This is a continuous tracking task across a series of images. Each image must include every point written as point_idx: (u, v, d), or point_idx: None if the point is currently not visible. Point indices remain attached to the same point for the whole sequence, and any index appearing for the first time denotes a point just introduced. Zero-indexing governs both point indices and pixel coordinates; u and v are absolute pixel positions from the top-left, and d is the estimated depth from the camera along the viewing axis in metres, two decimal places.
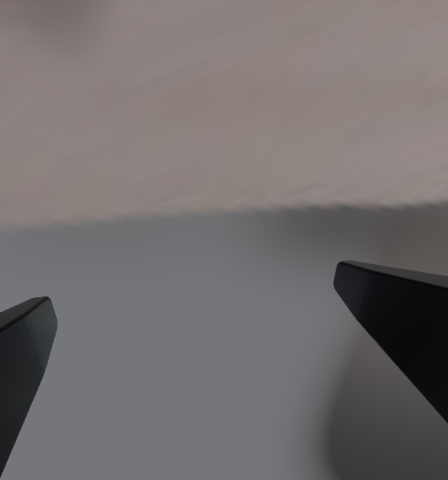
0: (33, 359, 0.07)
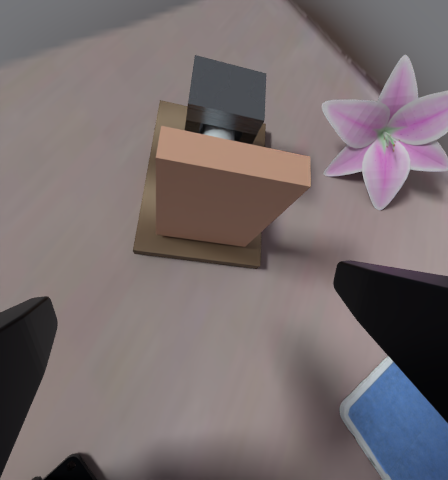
0: (33, 359, 0.07)
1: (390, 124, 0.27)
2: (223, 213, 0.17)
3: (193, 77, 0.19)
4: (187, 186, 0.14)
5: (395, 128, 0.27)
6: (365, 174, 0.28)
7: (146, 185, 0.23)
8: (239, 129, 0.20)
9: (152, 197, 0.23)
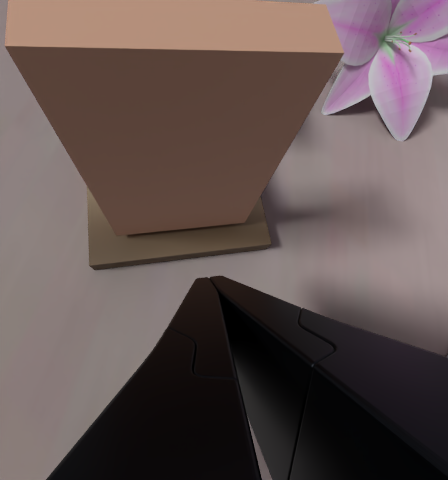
0: None
1: (393, 22, 0.20)
2: (198, 169, 0.10)
3: None
4: (114, 120, 0.07)
5: (401, 26, 0.20)
6: (375, 98, 0.21)
7: None
8: None
9: None
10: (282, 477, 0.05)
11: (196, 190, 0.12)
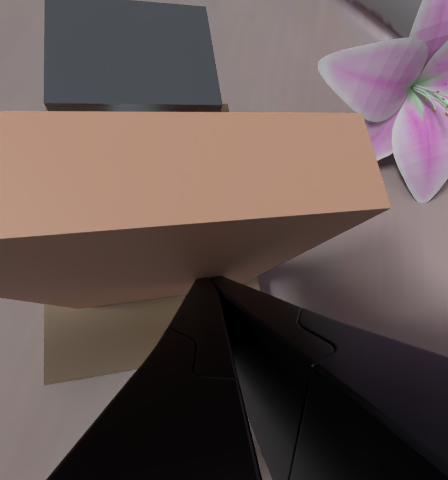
0: None
1: (426, 71, 0.17)
2: (170, 278, 0.08)
3: (48, 41, 0.08)
4: (28, 274, 0.05)
5: (435, 76, 0.17)
6: (399, 158, 0.18)
7: None
8: None
9: None
10: (282, 477, 0.05)
11: (170, 285, 0.09)
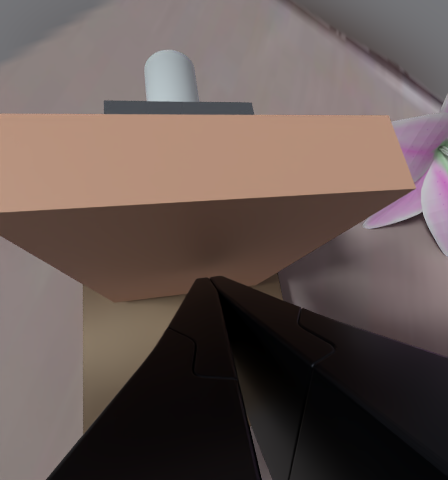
0: None
1: None
2: (212, 265, 0.09)
3: None
4: (116, 247, 0.06)
5: None
6: (428, 217, 0.18)
7: (86, 327, 0.13)
8: None
9: (101, 345, 0.13)
10: (282, 477, 0.05)
11: (208, 275, 0.10)
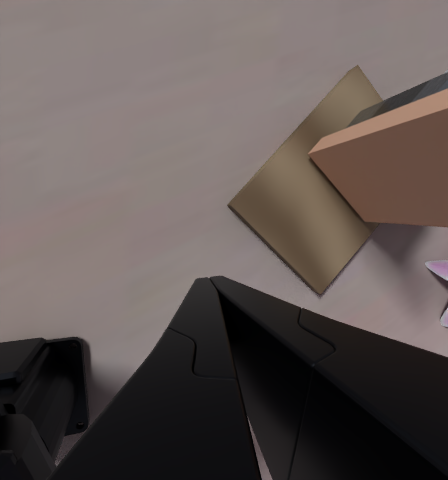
0: None
1: None
2: (411, 188, 0.16)
3: None
4: (436, 145, 0.12)
5: None
6: None
7: (283, 150, 0.20)
8: None
9: (281, 166, 0.20)
10: (282, 476, 0.05)
11: (388, 190, 0.17)
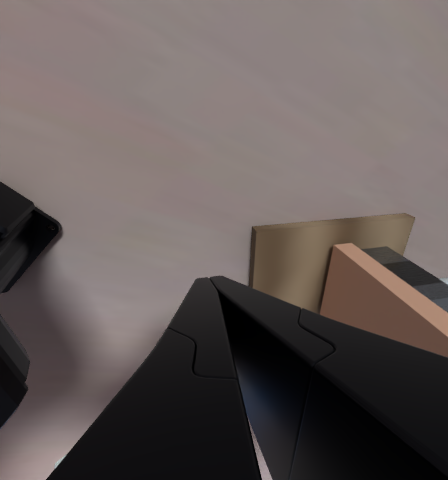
0: None
1: None
2: None
3: (439, 300, 0.18)
4: (413, 337, 0.16)
5: None
6: None
7: (322, 227, 0.22)
8: None
9: (310, 236, 0.23)
10: (282, 477, 0.05)
11: (357, 320, 0.21)
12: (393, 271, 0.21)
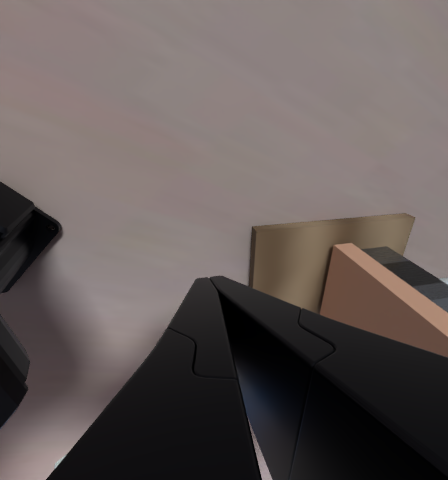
0: None
1: None
2: None
3: (439, 300, 0.18)
4: (413, 337, 0.16)
5: None
6: None
7: (322, 227, 0.22)
8: None
9: (310, 236, 0.23)
10: (282, 477, 0.05)
11: (357, 320, 0.21)
12: (393, 271, 0.21)
